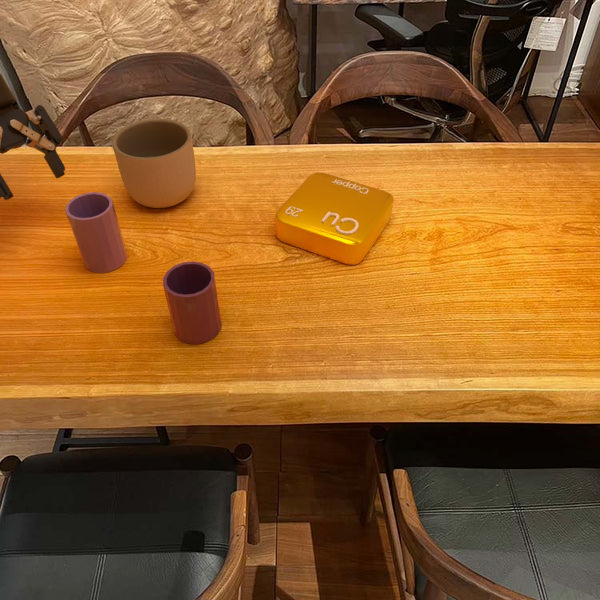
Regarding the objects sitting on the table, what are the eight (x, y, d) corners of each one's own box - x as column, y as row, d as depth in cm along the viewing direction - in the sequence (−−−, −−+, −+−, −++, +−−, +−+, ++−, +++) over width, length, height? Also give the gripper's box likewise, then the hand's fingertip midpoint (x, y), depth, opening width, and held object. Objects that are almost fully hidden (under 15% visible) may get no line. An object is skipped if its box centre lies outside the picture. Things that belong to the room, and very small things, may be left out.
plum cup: (185, 351, 77) (175, 303, 70) (166, 320, 80) (155, 273, 74) (229, 332, 79) (223, 284, 73) (208, 303, 83) (201, 255, 76)
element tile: (394, 215, 97) (398, 191, 94) (357, 269, 88) (359, 245, 84) (314, 190, 102) (314, 166, 98) (270, 239, 93) (269, 214, 89)
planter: (149, 168, 107) (137, 112, 99) (211, 181, 104) (204, 125, 96) (112, 207, 98) (96, 150, 91) (178, 222, 95) (167, 165, 88)
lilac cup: (92, 278, 86) (73, 225, 79) (78, 254, 90) (59, 201, 83) (133, 263, 89) (118, 210, 82) (118, 240, 92) (103, 187, 85)
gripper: (-72, 87, 75) (-2, 202, 80) (27, 58, 84) (86, 164, 89) (-83, 105, 81) (-16, 211, 86) (12, 76, 90) (68, 174, 94)
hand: (36, 187), depth 87 cm, fingers open, 8 cm apart
